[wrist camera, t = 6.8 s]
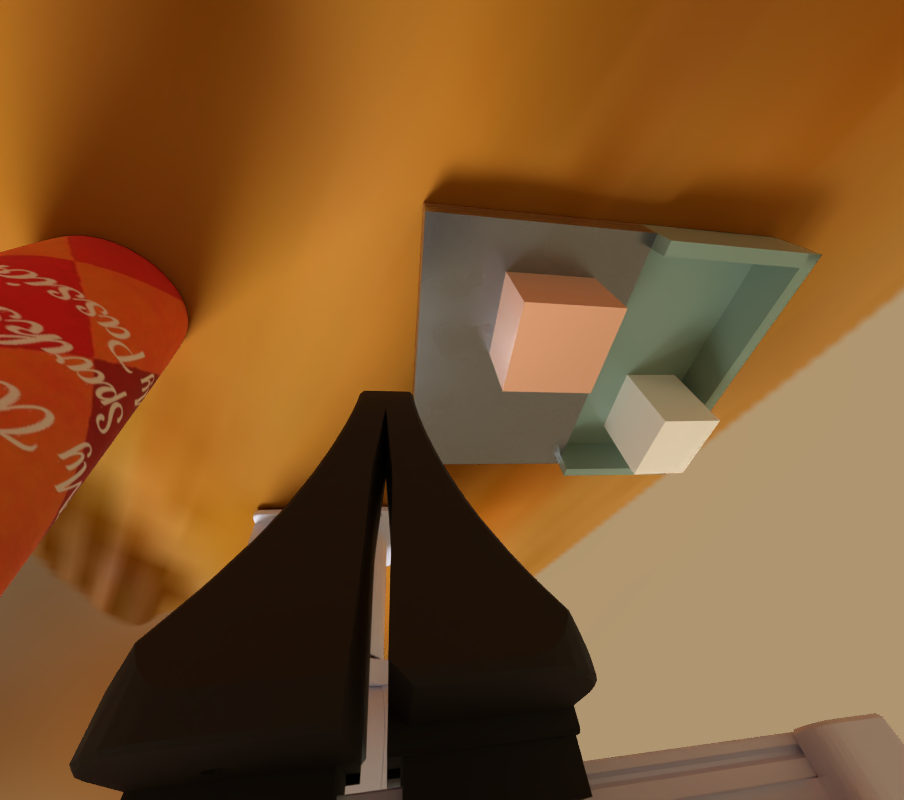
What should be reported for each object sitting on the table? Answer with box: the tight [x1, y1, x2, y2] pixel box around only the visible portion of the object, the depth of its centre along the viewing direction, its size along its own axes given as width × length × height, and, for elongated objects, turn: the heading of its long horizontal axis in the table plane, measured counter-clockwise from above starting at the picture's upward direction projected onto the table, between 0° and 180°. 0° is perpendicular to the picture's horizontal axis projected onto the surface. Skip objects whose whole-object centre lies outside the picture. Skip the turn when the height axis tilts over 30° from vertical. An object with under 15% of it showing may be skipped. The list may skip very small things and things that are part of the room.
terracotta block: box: [489, 272, 628, 393], centre depth 16 cm, size 4×4×3 cm
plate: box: [413, 202, 657, 464], centre depth 19 cm, size 10×14×2 cm
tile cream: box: [604, 375, 720, 474], centre depth 21 cm, size 4×4×3 cm
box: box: [559, 224, 822, 476], centre depth 20 cm, size 7×14×2 cm, turn 174°
